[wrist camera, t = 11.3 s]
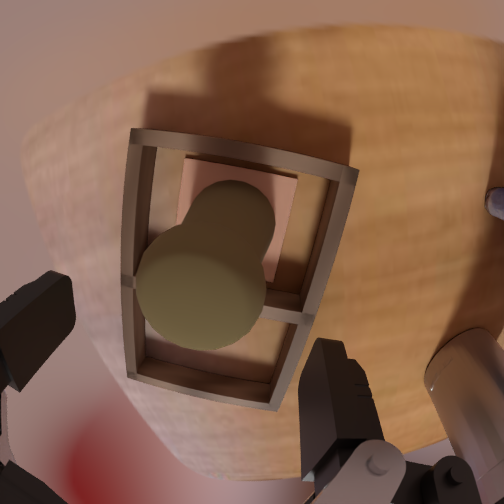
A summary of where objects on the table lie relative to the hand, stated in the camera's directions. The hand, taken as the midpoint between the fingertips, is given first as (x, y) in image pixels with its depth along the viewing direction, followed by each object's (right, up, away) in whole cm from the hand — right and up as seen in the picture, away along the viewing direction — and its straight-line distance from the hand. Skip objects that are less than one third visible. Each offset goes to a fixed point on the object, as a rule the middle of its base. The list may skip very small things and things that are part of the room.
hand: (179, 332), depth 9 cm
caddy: (0, 0, +14) cm, 14 cm away
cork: (+1, +4, +12) cm, 13 cm away
